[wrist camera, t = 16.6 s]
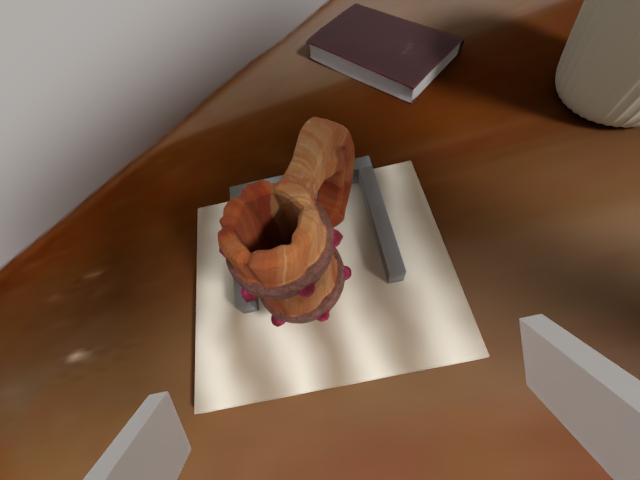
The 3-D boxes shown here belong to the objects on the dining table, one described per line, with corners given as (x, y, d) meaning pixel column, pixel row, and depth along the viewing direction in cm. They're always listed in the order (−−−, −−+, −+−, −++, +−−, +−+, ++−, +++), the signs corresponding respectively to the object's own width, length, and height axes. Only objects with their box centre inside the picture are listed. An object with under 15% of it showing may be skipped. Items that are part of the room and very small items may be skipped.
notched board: (409, 167, 38) (413, 145, 34) (484, 358, 27) (501, 353, 24) (202, 213, 39) (187, 196, 35) (200, 413, 28) (178, 415, 25)
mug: (319, 352, 28) (276, 314, 15) (248, 312, 31) (157, 248, 18) (385, 224, 33) (397, 109, 20) (319, 198, 36) (290, 82, 22)
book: (357, 20, 53) (356, -2, 50) (460, 56, 46) (467, 33, 43) (308, 61, 50) (304, 41, 47) (410, 107, 42) (413, 86, 40)
